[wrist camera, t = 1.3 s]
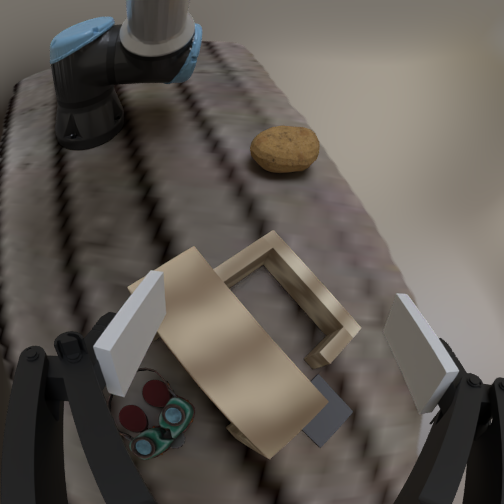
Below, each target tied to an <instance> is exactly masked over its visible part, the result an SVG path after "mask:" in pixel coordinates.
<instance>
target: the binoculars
mask: <svg viewBox="0 0 504 504" xmlns="http://www.w3.org/2000/svg"><path fill="white" fill-rule="evenodd" d="M145 370H148V371H152V372H156V371H155V370H152V369H148V368H140V369H138V370H137V371H145ZM156 373H157V372H156ZM157 374H158V375H159V376H160V377H161V378H162V379H163V381H164V382H165V383H164V382H162V381H159V380H151V381H148V382H147V383H146V384H145V385H144V387H143V397H144V399H145V400H146V402H147V403H149V404H150V405H153V406H156V407H164V408H163V410H162V412H161V413H160V416H159V424H160V426H158V427H155V426H153V428H150V429H148V428H147V427H148V420H147V417H146V415H145V413H144V412H143V411H142V410H141V409H140V408H139V407H137V406H134V405H128V406H125V407H124V408H122V410H121V411H120V413H119V420H120V422H121V424H122V425H123V426H124V427H125V428H126V429H128V430H130V431H133V432H142V433H141V434H140V435H138V436H137V437H135V438H133V437H131V436H130V435H128V434H126V433H123V432H120V431H119V430H118V431H119V433H120V435H122V436H124V437H125V438H126V439H127V440H129V441H130V444H129V447H130V449H131V451H132V452H133V454H134V455H135V456H137V457H138V458H140V459H144V460H147V459H150V458H155V457H157V456H159V455H163V453H164V452H165V451H167V450H168V449H169V448H170V447H172V448H179V447H182V446H183V444H184V443H185V441H184V440H185V437H184V434H183V433H184V432H185V431H186V430H187V429H188V427H189V425H190V424H191V422H193V418H194V415H195V408H194V406H193V405H192V404H191V403H190V402H189V401H188V400H185V399H184V398H182V397H178V396H177V395H175V393H174V391H173V390H172V389H171V388H170V386H169V383H168V382H167V381H165V380H164V378H163V377H162V376H161V375H160V374H159V373H157ZM169 388H170V389H169ZM171 393H172V394H171ZM113 395H114V394H111V393H110V395H109V398H108V401H107V405H108V407H109V410H110V412H111V401H112V398H113ZM172 395H173V396H174V398H172ZM161 427H163V428H161ZM164 428H168V429H169V430H167V431H165V429H164ZM130 438H131V439H132V440H131V439H130Z"/></svg>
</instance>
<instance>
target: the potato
mask: <svg viewBox="0 0 504 504" xmlns="http://www.w3.org/2000/svg"><path fill="white" fill-rule="evenodd" d="M250 151H251V156H252V157H253V158H254V160H255V161H256V162H257V163H258V164H259V165H260V166H261V167H262V168H263V169H265V170H267V171H270V172H274V173H288V172H294V171H303V170H305V169H307V168H308V167H309V166H310V165H311V164H312V163H313V162H314V161H315V160H316V159H317V157H318V154H319V141H318V138H317V136H316V134H315V133H314V132H313V131H312V130H310V129H307V128H304V127H291V126H277V127H272V128H269V129H267V130H265V131H263V132H261V133H260V134H258V135H257V136H256V137H255V138H254V139H253V141H252V143H251V147H250Z"/></svg>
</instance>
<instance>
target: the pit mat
mask: <svg viewBox="0 0 504 504" xmlns="http://www.w3.org/2000/svg"><path fill="white" fill-rule="evenodd" d="M310 382H311V383H312V384H313V385H314V386H315V387H316V388H317V389H318V391H319V392H320V393H321V394H322V395H323V396H324V397H325V398H326V399H327V400H328V401H329V402H328V403H327V404H326V406H325V407H324V408H323V409H322V410H321V411H320V412H319V413H318V414H317V415H316V416H315V417H314V418H313V419H312V420H311V421H310V422H309V423H308V424H307V425H306V426H305V427H304V428H303V429H302V431H303V432H304V433H305V434H306V435H307V436H308V437H309V438H311V439H312V440H313V441H314V442H315V443H316V444H317V445H318V446H319V447H320V448H321V447H322V446H323V445H324V443H325V442H326V441H327V440H328V439H329V438H330V437H331V436H332V435H333V434H334V433H335V432H336V431H337V430H338V428H339V427H340V426H341V425H342V424H343V423H344V422H345V421H346V419H347V418H348V417H349V416H350V415H351V414H352V412H353V411H352V410H351V409H350V408H349V407H348V406H347V405H346V404H345V402H344V401H343V400H342V399H341V398H340V397H339V396H338V395H337V394H336V393H335V392H334V391H333V389H332V388H331V387H330V386H329V385H328V384H327V383H326V382H325V381H324V380H323V379H322V377H321V376H320V375H319V374H317V375H316V376H315V377H314V378H313V379H312V380H311V381H310Z"/></svg>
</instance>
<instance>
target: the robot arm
mask: <svg viewBox="0 0 504 504" xmlns="http://www.w3.org/2000/svg"><path fill="white" fill-rule="evenodd" d="M189 3H190V0H126V8H127V19H126V20H125V21H124V23H123V24H121V25H114V24H115V21H114V19H113V18H112V17H99V18H94V19H90V20H87V21H84V22H81V23H78V24H76V25H74V26H71V27H69V28H67V29H65V30H64V31H62V32H61V33H59V34H58V35H57V36H56V37H55V38H54V39H53V40H52V42H51V44H50V64H51V68H52V75H53V81H54V87H55V92H56V97H57V103H58V109H57V116H56V124H55V132H56V136H57V140H58V142H59V144H60V145H62V146H63V147H65V148H68V149H73V150H81V149H88V148H92V147H95V146H98V145H101V144H103V143H105V142H107V141H108V140H110V139H112V138H113V137H114V136H115V135H117V134H118V133H119V131H120V130H121V129H122V127H123V125H124V110H123V107H122V105H121V103H120V101H119V99H118V97H117V94H116V92H115V90H114V85H117V84H134V83H165V84H170V83H180V82H185V81H187V80H188V79H189V78H190V77H191V75H192V73H193V71H194V68H195V66H196V62H197V57H198V55H199V51H200V46H201V40H202V28H201V26H200V25H199V24H195V23H194V19H193V18H192V16H191V15H190V14H189V13H188V8H189ZM165 315H166V304H165V290H164V273H163V272H160V271H152V270H150V272H149V273H148V274H147V275H146V277H145V278H144V279H143V281H142V282H141V283H140V284H139V286H138V287H137V288H136V289H135V291H134V292H133V293H132V295H131V296H130V297H129V298H128V300H127V301H126V302H125V304H124V305H123V306H122V308H121V309H120V310H119V312H118V313H113V312H108V313H107V314H105V315H104V316H102V317H101V318H100V319H99V320H98V322H97V323H96V325H94V327H93V328H92V330H91V331H90V332H89V333H88V334H87V336H86V337H85V338H83V336H82V335H81V334H80V333H78V332H73V331H71V332H65V333H63V334H61V335H59V336H58V337H57V338H56V339H55V341H54V347H55V349H56V352H57V354H58V356H47V355H46V353H45V351H44V349H43V348H41V347H40V346H31V347H28V348H26V349H25V350H24V351H23V352H22V353H21V355H20V357H19V361H18V365H17V369H16V373H15V377H14V381H13V386H12V390H11V395H10V400H9V406H8V411H7V418H6V424H5V432H4V441H3V452H2V465H1V504H68V500H67V491H66V482H65V469H64V450H63V411H64V401H69V404H70V407H71V411H72V415H73V418H74V422H75V425H76V428H77V431H78V435H79V438H80V441H81V444H82V447H83V449H84V452H85V455H86V458H87V460H88V463H89V465H90V468H91V470H92V473H93V475H94V478H95V480H96V482H97V485H98V487H99V489H100V491H101V494H102V496H103V498H104V500H105V502H106V504H158V503H157V502H156V500H155V498H154V497H153V495H152V493H151V492H150V490H149V488H148V487H147V485H146V483H145V482H144V480H143V478H142V476H141V475H140V473H139V471H138V469H137V467H136V465H135V463H134V462H133V460H132V458H131V456H130V454H129V452H128V450H127V448H126V446H125V444H124V442H123V439H122V437H121V435H120V433H119V431H118V429H117V426H116V424H115V422H114V419H113V417H112V415H111V412H110V410H109V407H108V405H107V402H106V400H105V397H104V395H103V392H102V390H103V389H104V387H105V385H106V387H107V389H108V392H109V393H111V394H114V395H118V396H121V397H125V395H126V393H127V390H128V388H129V386H130V384H131V382H132V380H133V378H134V376H135V374H136V372H137V370H138V368H139V366H140V364H141V362H142V360H143V358H144V356H145V354H146V352H147V350H148V348H149V346H150V344H151V342H152V340H153V338H154V336H155V334H156V332H157V330H158V328H159V327H160V325H161V323H162V321H163V319H164V317H165ZM383 334H384V336H385V338H386V340H387V342H388V344H389V346H390V348H391V350H392V353H393V355H394V357H395V359H396V361H397V363H398V366H399V368H400V370H401V372H402V374H403V377H404V379H405V381H406V384H407V386H408V388H409V390H410V393H411V395H412V398H413V400H414V402H415V405H416V407H417V410H418V412H419V414H424V413H429V412H432V411H433V410H434V408H435V407H436V406H437V404H438V405H439V407H440V410H439V412H438V413H437V415H436V416H435V417H434V418H433V420H432V421H431V422H430V424H432V423H433V422H434V423H433V425H432V428H431V430H430V433H429V435H428V438H427V440H426V442H425V444H424V447H423V449H422V451H421V453H420V455H419V457H418V459H417V462H416V464H415V466H414V468H413V470H412V471H411V473H410V475H409V477H408V479H407V481H406V483H405V485H404V486H403V488H402V490H401V492H400V493H399V495H398V497H397V499H396V500H395V502H394V503H393V504H452V502H453V500H454V498H455V495H456V492H457V490H458V487H459V484H460V481H461V479H462V476H463V473H464V470H465V467H466V464H467V469H466V480H465V489H464V497H463V504H504V378H497V379H496V380H495V381H494V383H493V384H492V385H488V384H483V383H482V381H481V379H480V378H479V377H478V376H476V375H474V374H471V373H466V371H465V369H464V368H463V366H462V365H461V363H460V362H459V360H458V358H457V357H455V354H454V352H452V349H451V348H450V346H449V345H448V344H447V343H446V342H445V341H444V340H442V339H441V338H438V337H437V336H436V334H435V332H434V331H433V330H432V328H431V327H430V325H429V324H428V322H427V321H426V319H425V318H424V317H423V315H422V314H421V312H420V311H419V310H418V308H417V307H416V305H415V304H414V303H413V301H412V300H411V299H410V297H409V296H408V295H407V294H397V293H396V296H395V299H394V302H393V305H392V308H391V311H390V313H389V316H388V319H387V322H386V324H385V327H384V329H383ZM491 419H492V423H491Z"/></svg>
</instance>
